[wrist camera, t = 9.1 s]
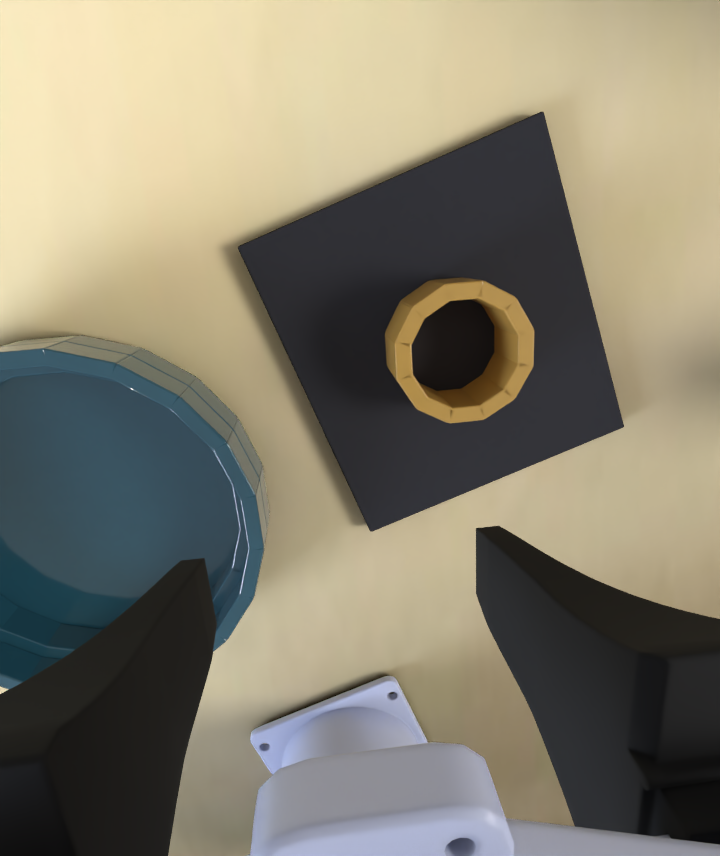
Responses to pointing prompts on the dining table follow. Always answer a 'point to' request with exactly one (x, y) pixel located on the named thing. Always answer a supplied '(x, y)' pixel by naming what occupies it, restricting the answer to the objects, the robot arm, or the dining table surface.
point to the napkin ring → (502, 370)
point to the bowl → (114, 494)
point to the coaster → (439, 320)
